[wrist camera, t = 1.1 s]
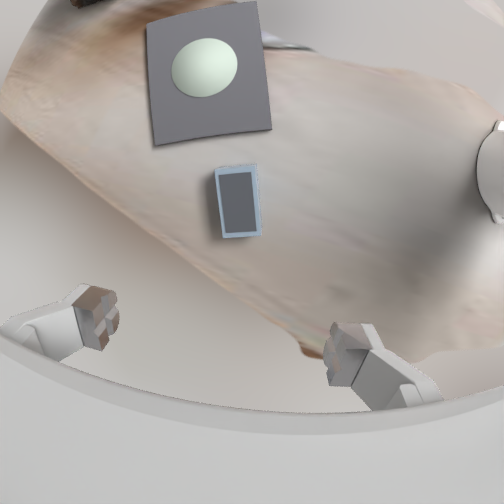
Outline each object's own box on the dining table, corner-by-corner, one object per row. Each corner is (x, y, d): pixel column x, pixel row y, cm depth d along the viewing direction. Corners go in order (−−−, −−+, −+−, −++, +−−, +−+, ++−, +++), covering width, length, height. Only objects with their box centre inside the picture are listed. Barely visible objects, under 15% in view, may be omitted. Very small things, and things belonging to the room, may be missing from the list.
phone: (256, 163, 36) (254, 165, 33) (262, 226, 40) (261, 235, 36) (220, 166, 37) (214, 169, 33) (227, 228, 40) (222, 238, 36)
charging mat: (256, 4, 27) (256, 0, 25) (272, 129, 34) (272, 128, 33) (149, 26, 28) (146, 23, 27) (158, 145, 36) (154, 145, 35)
